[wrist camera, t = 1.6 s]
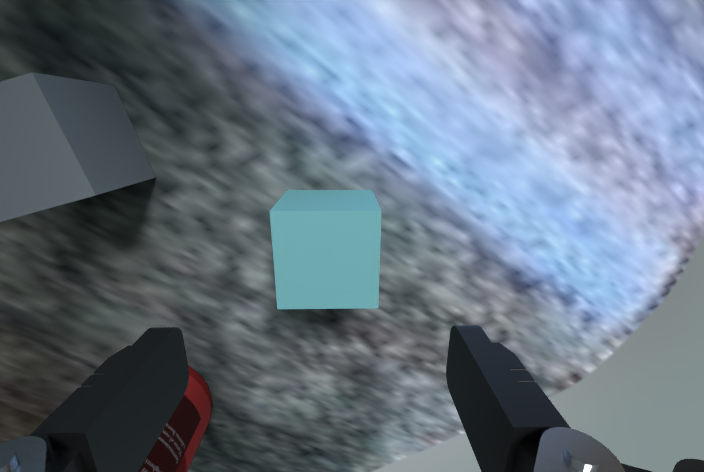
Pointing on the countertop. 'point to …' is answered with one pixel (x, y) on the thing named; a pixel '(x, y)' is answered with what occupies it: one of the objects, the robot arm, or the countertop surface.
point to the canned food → (182, 430)
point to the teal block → (326, 249)
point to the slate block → (63, 143)
